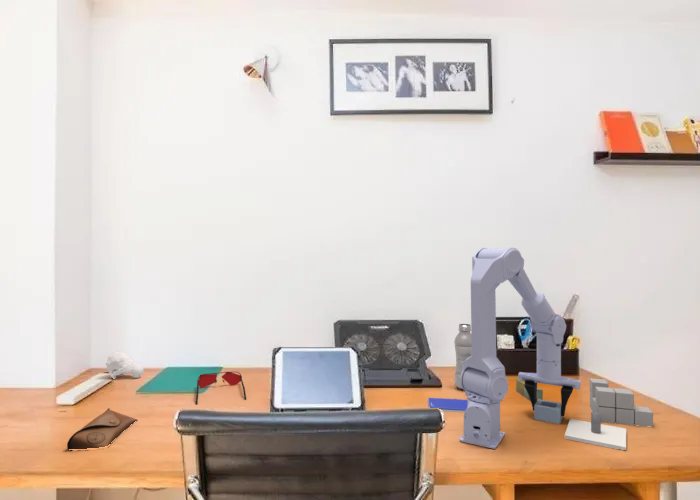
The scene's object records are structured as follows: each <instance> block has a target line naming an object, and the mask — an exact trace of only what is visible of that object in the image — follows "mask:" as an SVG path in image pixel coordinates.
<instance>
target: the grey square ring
mask: <svg viewBox="0 0 700 500" xmlns="http://www.w3.org/2000/svg"><path fill="white" fill-rule="evenodd" d="M533 414H534V415H533V419H534V420H536V421H540V422H546V423H551V424H552V423H553V424H557V425H561V422H562V420H563V418H564V416H561V402H559V401H557V402H556V401H552V400H546V399H545V400H544V399H543V400H540V399H538V400H537V402H536V404H535V405H534V411H533Z"/></svg>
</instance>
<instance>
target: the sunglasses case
mask: <svg viewBox="0 0 700 500" xmlns="http://www.w3.org/2000/svg"><path fill="white" fill-rule="evenodd" d="M135 421H136V422H138V419H137V418H134V417H130V416H128V415H126V414H123V413H120V412H117V411H114V410H112V409H111V408H110V407H109V408H107V409H106V410H105V411H104V412H103V413H101V414H99V415H98V416H96V417H95V418H93V419H92V420H91V421H90V422H88V423H87V424H86V425H84V426H83V427H82V428H80V429H79V430H78V431H76V432H74V433H73V434H72V435H71V436H70V438H69V439H68V441H67V444H66V448H67V450H68V451H69V449H87V448H99V447H105V446H108V445H109V444H111V445H112V443H113V442H114V441H115V440H116V439H118V438H119V437H120V434H121V433H122V432H123V431H124V430H125V431H126V430H127V429H128V428H130V427H131V426H132V425H133V424H135V423H136V422H135ZM134 422H135V423H134ZM131 424H132V425H131ZM130 425H131V426H130ZM125 431H124V432H125ZM124 432H123V433H124ZM123 433H122V434H123ZM122 434H121V435H122ZM115 438H116V439H115ZM114 439H115V440H114ZM113 440H114V441H113ZM112 441H113V442H112ZM111 442H112V443H111Z"/></svg>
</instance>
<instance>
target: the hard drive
mask: <svg viewBox="0 0 700 500" xmlns="http://www.w3.org/2000/svg"><path fill="white" fill-rule="evenodd" d="M427 404H429V405H428V408H429V407H430V408H439V409H441V410H443V411H445V412H446V411H447V412H446V413H449V412H450V413H464V412H465V410H466V409H467V399H461V398H460V399H459V398H457V399H456V398H441V397H440V398H439V397H428V398H427ZM443 411H442V412H443Z"/></svg>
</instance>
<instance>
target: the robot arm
mask: <svg viewBox="0 0 700 500" xmlns="http://www.w3.org/2000/svg"><path fill="white" fill-rule="evenodd" d="M471 261H472V262H471V263H472V264H471V266H472V267H471V268H472V270H471V276H470V322H471V323H470V325H471V331H470V333H471V338H472V356H470V357H469V358H468V359H466V360H465V361H464V362H463V369H462V373H461V376H460V384H461V387H462V388H463V389H462V390H464V396H466V397H467V398H466V400H467V409H466V410H465V412H463V434H462V435H461V436H460V437H459V442H463V443H467V444H471V445H472V444H473V445H477V446H479V447H480V446H481V447H485V448H488V449H489V448H490V449H495V450H496V449H497V447H498V445H500V443H501V441H502V439H503V438H504V437H505V435H506V433H505V432H504V431H501V402H503V401H504V399H505V398H506V396H507V394H508V390H509V382H508V378H507V376H506V368H505V366H504V364H502V362H501V361H500V359H499V358H498V357H497V312H496V311H497V305H496V290H497V288H498V287H499V286H500V285H501V284H503V283H504V282H507V281H508V282H509V283H510V285H512V287H513V288H514V289H515V290H516V292H517V293H518V294H519V295H520V297H521V299H522V300H521V306H522V308H523V309H524V310H525V312H526V313H527V315H528V316H529V319H530V326H531V330H532V332H534V333H536V372H524V371H523V372H522V371H519V372H518V377H517V379H518V381H525V384H524V386H525V389H526V390H527V393H528V395H529V397H530V400H531V401H530V404H531V406H532V412H534V405H535V404H536V402H537V387H538V384H541V385H542V384H543V385H551V386H557V387H561V389H560V397H561V398H560V401H561V402H560V403H561V416H563V417H565V415H566V414H565V413H566V408H567V404H568V401H569V399H570V398H571V395H572V393H573V390H574V389H575V390H579V391H580V390H581V387H582V386H581V385H582V384H581V379H576V378H570V377H566V376H562V344H563V342H564V336H565V333H566V329H567V324H566V321H565V319H564V317H563V316H561V315H560V314H557V313H556V312H555V310H554V309H553V306H552V305H551V304H550V303H549V301H548V300H547V298H546V295H545V294H544V293H542V292H540V291H537V290H535V288H534V286H533V284H532V282H531V280H530V279H529V277H528V274H527V273H526V271H525V269H524V267H525V259H524V258H523V256H522V253H521V252H520V251H519V249H517V248H516V247H508V248H505V247H503V248H502V247H500V248H499V247H498V248H497V247H496V248H491V247H490V248H488V247H481V248H480V249H478V250H477V251H476V252H475V254H473V256H471Z"/></svg>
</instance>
